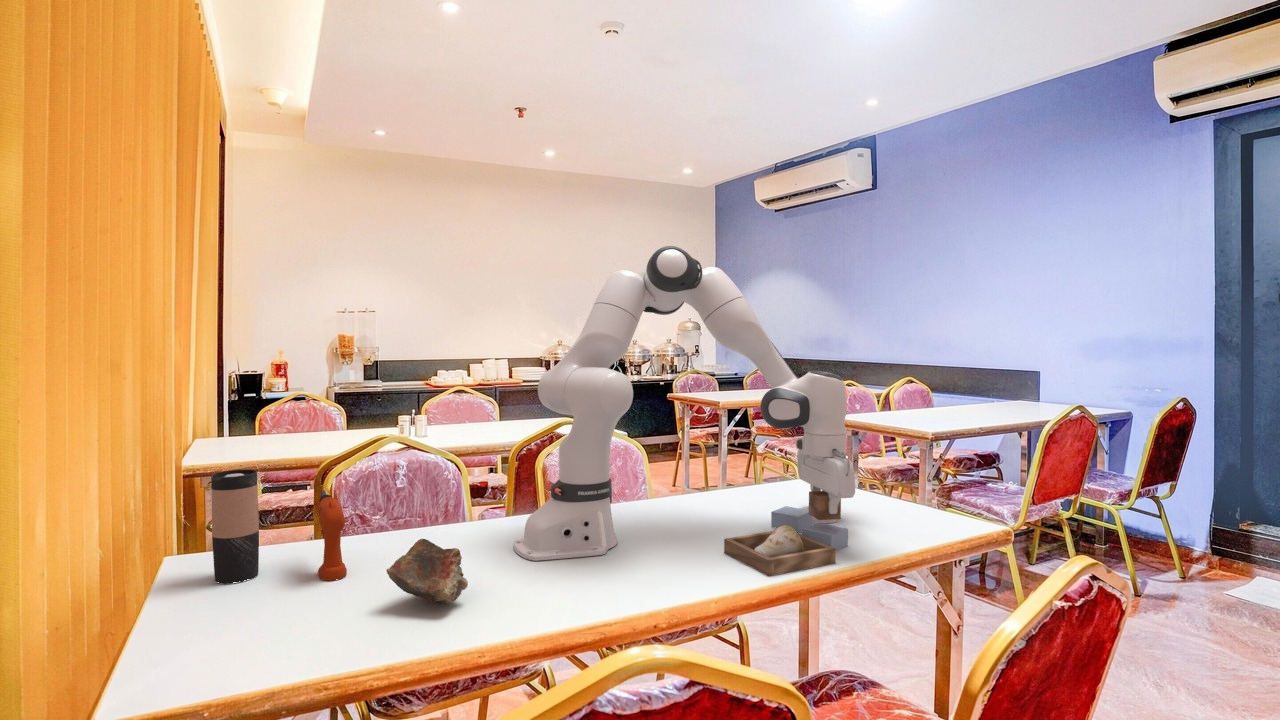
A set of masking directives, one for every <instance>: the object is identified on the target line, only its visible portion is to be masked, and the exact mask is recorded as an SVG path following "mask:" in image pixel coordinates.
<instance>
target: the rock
mask: <svg viewBox="0 0 1280 720" xmlns="http://www.w3.org/2000/svg"><path fill="white" fill-rule="evenodd" d="M462 558H463V556H462V555H461V551H460V549H459V548H457V547H453V548H442V547H440V546H438V545H436V543H433V542H432V541H430V540H428V539H426V538H420V539H418V540H417V541H415V543H414V544H413V545H412V546H411V547H410V548H409V550H408V551H407V552H406V553H405V554H404V555H401V556H400V557H399V558H397V559H396V560H395V561H394V562H393V564H392V565H391V566H390V567H388V568H386V574H387V575H388V577H389V579H390V580H391V581H392V582H393V583H394V584H395V585H396V586H397V587H398V588H399V589H401V590H402V591H403V592H404V593H406V594H409V595H412V596H415V597H418V598H422V599H425V600H430V602H433V603H437V602H439V603H447V604H452V603H454V602H455V601H456V600H457V599H458V598H459V597H460V596H461V594H462V592H463V591H465V590H466V589H467V588H468V585H469V581H468V580H467V579H468V578H465V577H464V572H463V570H462V567H461V564H462Z"/></svg>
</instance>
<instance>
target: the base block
mask: <svg viewBox="0 0 1280 720" xmlns="http://www.w3.org/2000/svg"><path fill="white" fill-rule="evenodd" d="M801 535H804V536H806V537H809V538H811V539H814V540H816V541H819V542H821V543H824V544H826V545H829V546H831V547H834V548H836V552H838V551H839V550H842V549H844V548H847V547H848V546H849V529H848V528H847V527H841V526H837V525H832V524H829V523H817V524H812V525H811V526H808V527H806V528H803V529H802V531H801Z"/></svg>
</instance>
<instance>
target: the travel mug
mask: <svg viewBox="0 0 1280 720" xmlns="http://www.w3.org/2000/svg"><path fill="white" fill-rule="evenodd" d="M210 478H211V479H210V480H211V481H210V482H211V483H210V485H211V487H210V488H211V539H212V540H211V541H212V556H213V571H214V573H213V574H214V582H215V581H216V582H219V583H233V582H239V581H244V580H247V579H251V578H253V579H255V578H256V577H258V575H259V569H260V568H259V566H260V565H259V561H260V560H259V558H260V557H259V556H260V555H259V553H260V551H259V550H260V549H259V548H260V547H259V545H260V522H259V521H260V520H259V518H260V517H259V492H258V491H259V490H258V489H259V488H258V471H257V470H255V469H247V468H245V469H233V470H232V469H230V470H224V471H220V472H219V471H218V472H215V473H213V474H212V475H211V476H210ZM255 576H256V577H255ZM254 577H255V578H254ZM251 580H252V579H251ZM216 582H215V583H216ZM219 583H218V584H219Z"/></svg>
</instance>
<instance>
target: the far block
mask: <svg viewBox="0 0 1280 720" xmlns="http://www.w3.org/2000/svg"><path fill="white" fill-rule="evenodd" d="M799 508H800V507H793V506H787V505H786V506H782V507H781V508H778V509H774V510H773V511H771V512H770V514H771V517H770V518H771V520H770V522H771V528H772V527H776V528H775V529H777V528H778V527H780V526H784V525H787V526H790V527H792V528H793V529H794V530H795V531H796V532H799V533H801V532H802V529H803V528H806V527H808V526H811V525H813V524H812V516H811V515H809V510H805V509H799ZM800 531H801V532H800Z"/></svg>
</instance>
